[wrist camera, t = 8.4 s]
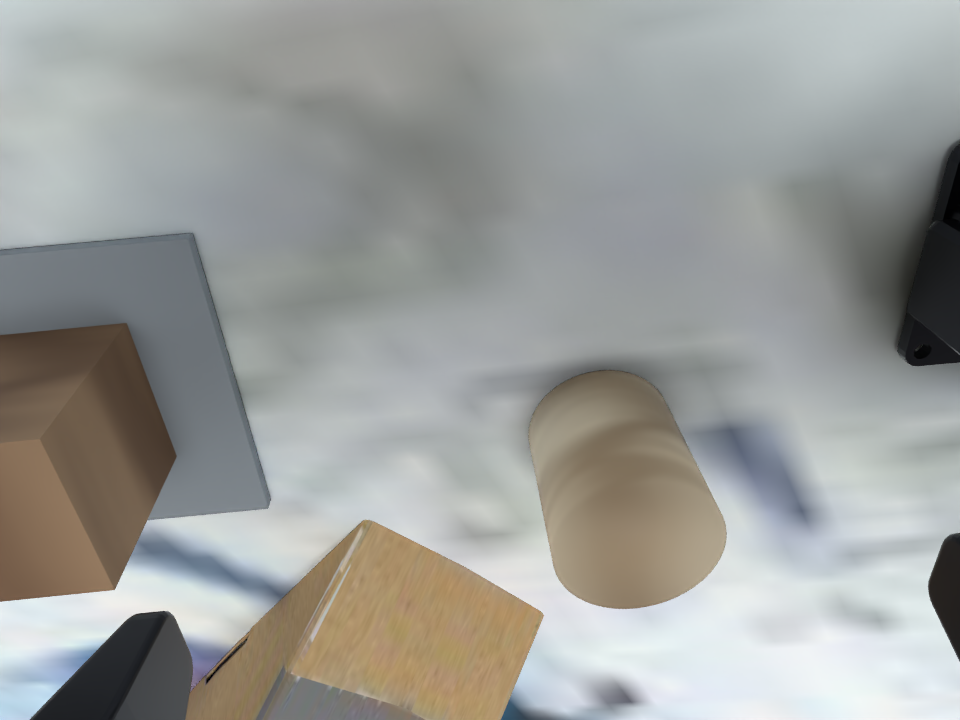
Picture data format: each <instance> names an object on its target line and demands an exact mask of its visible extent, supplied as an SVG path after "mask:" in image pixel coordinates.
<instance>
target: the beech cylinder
mask: <svg viewBox="0 0 960 720" xmlns="http://www.w3.org/2000/svg"><path fill="white" fill-rule="evenodd" d="M528 437H529V445H530V450H531V455H532V460H533V465H534V470H535V475H536V480H537V485H538V490H539V495H540V500H541V505H542V511H543V516H544V521H545V526H546V531H547V536H548V541H549V546H550V551H551V556H552V561H553V566H554V569H555V572H556V575H557V577H558V579H559V580H560V582H561V583H562V584H563V586H564V587H565V588H566V589H567V590H568V591H569V592H571V593H572V594H573V595H575V596H576V597H578V598H580V599H582V600H584V601H586V602H588V603H591V604H594V605H598V606H602V607H607V608H615V609H631V608H641V607H647V606H652V605H656V604H659V603H662V602H666V601H668V600H671V599H673V598H675V597H678V596H680V595H681V594H683V593H685V592H687V591H689V590H690V589H692V588H693V587H695V586H696V585H697V584H698V583H700V582H701V581H702V580H703V579H704V578H705V577H706V576H707V575H708V574H709V573H710V572H711V571H712V570H713V568H714V567H715V566H716V565H717V563H718V561H719V559H720V558H721V556H722V553H723V551H724V548H725V543H726V534H727V532H726V525H725V522H724V519H723V516H722V514H721V512H720V510H719V508H718V506H717V504H716V502H715V500H714V498H713V496H712V494H711V492H710V490H709V488H708V486H707V484H706V482H705V480H704V478H703V476H702V474H701V472H700V470H699V468H698V466H697V464H696V462H695V460H694V458H693V456H692V454H691V452H690V450H689V448H688V446H687V444H686V442H685V440H684V438H683V436H682V434H681V432H680V430H679V428H678V426H677V424H676V422H675V420H674V418H673V416H672V414H671V412H670V410H669V408H668V406H667V404H666V402H665V400H664V398H663V396H662V395H661V393H660V392H659V391H658V390H657V389H656V388H655V387H654V386H653V385H652V384H651V383H649V382H648V381H646V380H645V379H643V378H641V377H639V376H637V375H634V374H631V373H628V372H623V371H615V370H600V371H593V372H588V373H584V374H581V375H578V376H575V377H573V378H571V379H569V380H567V381H565V382H563V383H561V384H560V385H558V386H557V387H555V388H554V389H553V390H552V391H550V392H549V393H548V394H547V395H546V396H545V397H544V398H543V399H542V401H541V402H540V403H539V405H538V406H537V408H536V410H535V412H534V413H533V416H532V418H531V421H530V426H529V435H528Z"/></svg>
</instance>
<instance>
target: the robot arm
mask: <svg viewBox="0 0 960 720" xmlns="http://www.w3.org/2000/svg"><path fill="white" fill-rule="evenodd" d="M922 344H923V345H922ZM920 345H922V347H921V348H920V349H919V350H917V351H915V349H916V348H917V347H918V346H920ZM898 353H899V355H900V356H901V357H902V358H903V359H904V360H905V361H906V362H907V363H909V364H910V365H912V366H925V365H935V364H946V363H957V362H960V144H959V145H958V146H957V147H956V148H955V149H954V150H953V151H952V153H951V155H950V157H949V159H948V163H947V167H946V170H945V174H944V178H943V181H942V185H941V189H940V192H939V196H938V200H937V204H936V207H935V211H934V215H933V218H932V222H931V226H930V228H929V229H928V231H927V235H926V239H925V243H924V246H923V250H922V254H921V257H920V261H919V265H918V269H917V272H916V276H915V280H914V283H913V287H912V291H911V294H910V298H909V302H908V306H907V314H906V318H905V322H904V325H903V329H902V333H901V336H900V340H899V344H898ZM928 590H929V596H930V600H931V602H932V605H933V607H934V609H935V611H936V613H937V615H938V617H939V619H940V622H941V624H942V626H943V628H944V630H945V632H946V634H947V636H948V638H949V640H950V642H951V644H952V647H953V649H954V651H955V653H956V655H957V657H958V659H959V661H960V533H956V534H951V535H949V536H948V537H947V538H946V539H945V540H944V541H943V543H942V546H941V549H940V551H939V554H938V557H937V560H936V562H935V565H934V568H933V570H932V573H931V576H930V578H929V583H928ZM192 674H193V664H192V657H191V654H190V651H189V649H188V647H187V645H186V642H185V640H184V638H183V635H182V633H181V631H180V628H179V626H178V624H177V622H176V619H175V618H174V616H173V615H172V614H171V613H170V612H167V611H159V612H149V613H140V614H135V615H133V616H132V617H130V618H129V619H127V620H126V621H125V622H124V623H123V624H122V625H121V626H120V627H119V628H118V629H117V630H116V631H115V632H114V633H113V634H112V635H111V636H110V638H109V639H108V640H107V641H106V642H105V643H104V644H103V645H102V646H101V647H100V648H99V649H98V650H97V651H96V652H95V653H94V654H93V655H92V656H91V657H90V658H89V659H88V660H87V661H86V662H85V663H84V664H83V665H82V666H81V667H80V668H79V669H78V670H77V671H76V672H75V674H74V675H73V676H72V677H71V678H70V679H69V680H68V681H67V682H66V683H65V684H64V685H63V686H62V687H61V688H60V689H59V690H58V691H57V692H56V693H55V694H54V695H53V696H52V697H51V698H50V699H49V700H48V701H47V702H46V703H45V704H44V705H43V706H42V707H41V708H40V709H39V711H38V712H37V713H36V714H35V715H34V716H33V717H32V718H31V719H30V720H186V713H187V707H188V701H189V694H190V688H191V682H192Z"/></svg>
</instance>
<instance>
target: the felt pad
mask: <svg viewBox="0 0 960 720" xmlns="http://www.w3.org/2000/svg"><path fill="white" fill-rule="evenodd" d="M120 323H127V325H128V328H129V331H130V333H131V336H132V339H133V341H134V344H135V347H136V349H137V352H138V355H139V357H140V360H141V363H142V365H143V368H144V370H145V373H146V376H147V378H148V381H149V384H150V386H151V389H152V392H153V394H154V397H155V400H156V402H157V405H158V408H159V410H160V413H161V415H162V418H163V421H164V423H165V426H166V429H167V431H168V434H169V437H170V439H171V442H172V445H173V447H174V450H175V453H176V455H177V457H176V459H175V462H174V464H173V466H172V468H171V470H170V472H169V474H168V477H167V479H166V481H165V483H164V485H163V487H162V489H161V492H160V494H159V496H158V498H157V500H156V502H155V504H154V507H153V509H152V511H151V513H150V515H149V517H148V519H147V520H154V519H164V518H175V517H185V516H196V515H206V514H217V513H227V512H238V511H248V510H259V509H268V508H269V504H270V500H271V499H270V496H269V492H268V489H267V486H266V482H265V479H264V475H263V472H262V469H261V465H260V462H259V458H258V455H257V452H256V448H255V445H254V441H253V438H252V435H251V431H250V428H249V424H248V421H247V418H246V414H245V411H244V407H243V404H242V400H241V397H240V394H239V390H238V387H237V383H236V380H235V377H234V373H233V370H232V366H231V363H230V360H229V356H228V353H227V349H226V346H225V343H224V339H223V336H222V332H221V329H220V326H219V322H218V319H217V315H216V312H215V308H214V305H213V302H212V298H211V295H210V291H209V288H208V285H207V281H206V278H205V274H204V271H203V268H202V264H201V261H200V257H199V254H198V251H197V247H196V244H195V240H194V237H193V234H192V233H188V234H177V235H166V236H154V237H143V238H132V239H120V240H109V241H98V242H87V243H75V244H64V245H53V246H41V247H30V248H19V249H7V250H0V335H7V334H17V333H27V332H38V331H48V330H58V329H69V328H79V327H89V326H100V325H110V324H120Z"/></svg>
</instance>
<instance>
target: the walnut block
mask: <svg viewBox="0 0 960 720" xmlns="http://www.w3.org/2000/svg"><path fill="white" fill-rule="evenodd" d="M176 457H177V455H176V453H175V450H174V447H173V445H172V442H171V439H170V437H169V434H168V431H167V429H166V426H165V423H164V421H163V418H162V415H161V413H160V410H159V408H158V405H157V402H156V400H155V397H154V394H153V392H152V389H151V386H150V384H149V381H148V378H147V376H146V373H145V370H144V368H143V365H142V363H141V360H140V357H139V355H138V352H137V349H136V347H135V344H134V341H133V339H132V336H131V333H130V331H129V328H128V325H127V323H120V324H110V325H100V326H89V327H79V328H69V329H58V330H48V331H38V332H27V333H17V334H7V335H0V602H1V601H11V600H21V599H30V598H40V597H50V596H60V595H69V594H79V593H89V592H99V591H109V590H115V588H116V586H117V584H118V582H119V580H120V577H121V575H122V573H123V571H124V569H125V567H126V565H127V562H128V560H129V558H130V556H131V554H132V552H133V550H134V547H135V545H136V543H137V541H138V539H139V537H140V534H141V532H142V530H143V528H144V526H145V524H146V522H147V519H148V517H149V515H150V513H151V511H152V509H153V507H154V504H155V502H156V500H157V498H158V496H159V494H160V492H161V489H162V487H163V485H164V483H165V481H166V479H167V477H168V474H169V472H170V470H171V468H172V466H173V464H174V462H175V459H176Z"/></svg>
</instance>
